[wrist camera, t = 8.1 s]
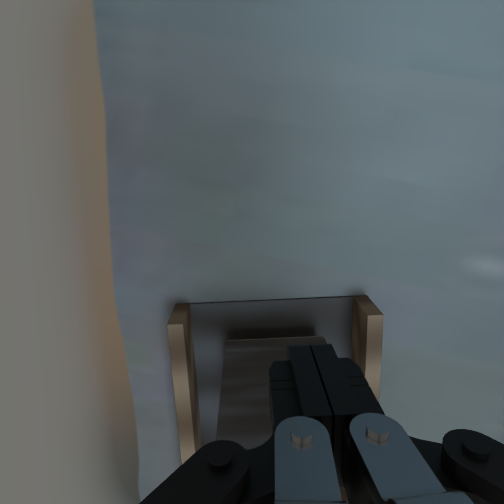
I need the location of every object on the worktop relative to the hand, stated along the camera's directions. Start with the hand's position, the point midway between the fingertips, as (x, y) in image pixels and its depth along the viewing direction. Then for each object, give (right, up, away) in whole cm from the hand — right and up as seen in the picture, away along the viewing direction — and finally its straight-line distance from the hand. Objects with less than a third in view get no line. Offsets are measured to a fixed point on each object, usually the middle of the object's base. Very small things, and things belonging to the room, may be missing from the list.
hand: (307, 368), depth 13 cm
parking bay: (0, -9, +22) cm, 23 cm away
